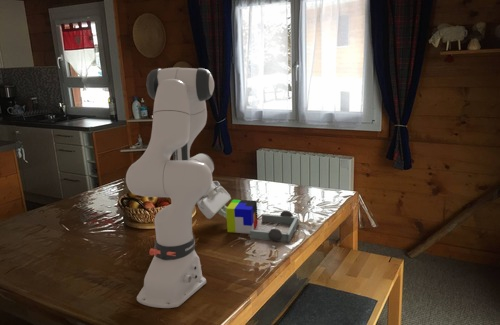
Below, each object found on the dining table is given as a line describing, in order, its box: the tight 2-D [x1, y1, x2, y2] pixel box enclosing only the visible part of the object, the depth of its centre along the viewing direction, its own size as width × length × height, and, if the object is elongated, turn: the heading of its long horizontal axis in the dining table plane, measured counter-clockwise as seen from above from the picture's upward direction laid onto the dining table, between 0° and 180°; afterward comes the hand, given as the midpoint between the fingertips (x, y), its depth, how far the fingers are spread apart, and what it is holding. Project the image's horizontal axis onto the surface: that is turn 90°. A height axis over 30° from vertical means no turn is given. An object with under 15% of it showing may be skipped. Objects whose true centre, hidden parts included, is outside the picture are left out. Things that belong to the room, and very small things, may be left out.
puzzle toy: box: [226, 199, 259, 235], centre depth 171 cm, size 10×10×10 cm
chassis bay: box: [249, 210, 300, 243], centre depth 167 cm, size 19×15×5 cm
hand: (229, 216), depth 173 cm, fingers closed
